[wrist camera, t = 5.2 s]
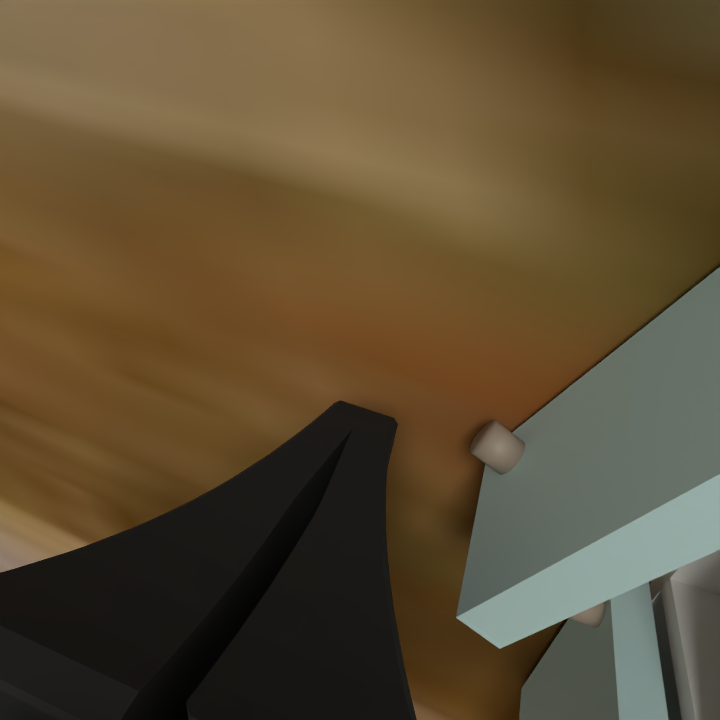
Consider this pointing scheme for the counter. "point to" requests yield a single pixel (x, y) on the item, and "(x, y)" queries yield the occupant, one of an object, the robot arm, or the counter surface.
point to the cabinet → (637, 654)
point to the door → (602, 480)
